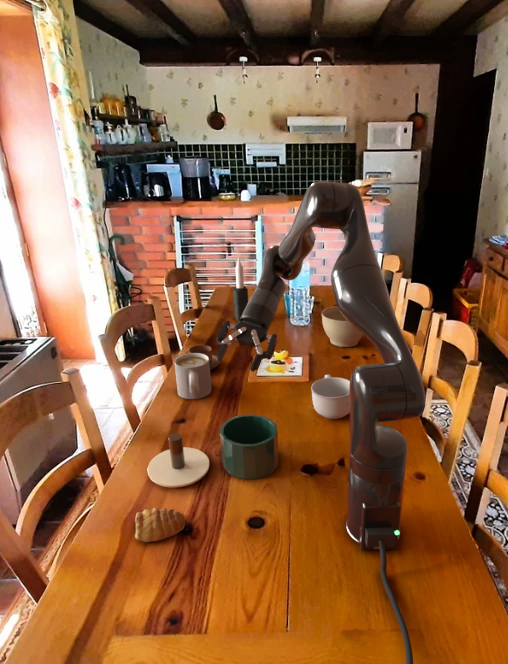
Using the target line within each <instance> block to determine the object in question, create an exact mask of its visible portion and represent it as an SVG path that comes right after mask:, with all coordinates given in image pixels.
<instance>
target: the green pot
mask: <svg viewBox="0 0 508 664" xmlns="http://www.w3.org/2000/svg"><path fill="white" fill-rule="evenodd" d="M219 440H220V453H221V454H220V456H221V464H222V467H223V468H224V471H225V472H226V473H227V474H229V475H230V476H232V477H235V478H237V479H242V480H257V479H262V478H265V477H267V476H269V475H271V474H272V473H274V471H275V470H276V469H277V467H278V465H279V431H278V425H277V424H276V422H274V421H273V419H272V418H269V417H267V416H265V415H260V414H254V413H252V414H239V415H236V416H233V417H230V418H228V419H226V420H225V421H224V422H223V423H222V425H221V426H220V428H219Z"/></svg>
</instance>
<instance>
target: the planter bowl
mask: <svg viewBox="0 0 508 664" xmlns="http://www.w3.org/2000/svg"><path fill="white" fill-rule="evenodd" d="M321 318H322V319H321V320H322V326H323V329H324V332H325V334H326V335H327V337H328V338H329V340H330V344H332V345H333V346H336V347H339V348H352V347H355V346H357V345H359V342H360V340H361V339H362V337H363V336H364V335H363V334H362V333H361V332H360V331H358V330H357V329H356V328H355V327H354V326H353V325H352V324H351V323H350V322H349V321H348V320H346V318H345V317H344V316H343V315H342V314H341V312H340V311H339V309H338V307H337V305H336V306H330V307H327V308H325V309H323V310H322V311H321Z"/></svg>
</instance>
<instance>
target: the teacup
mask: <svg viewBox="0 0 508 664" xmlns="http://www.w3.org/2000/svg"><path fill="white" fill-rule="evenodd" d="M310 389H311V397H312V398H311V399H312V405H313V409H314V411H316V413H317V414H319V415H320V416H322V417H324V418H325V419H329V420H337V419H338V420H339V419H342V418H344V417H346V416H347V415H348V414H350V394H349V389H350V379H348V378H347V379H346V378H344V377H336V376H335V377H334V376H333V377H332V374H325V375H324V377H323V378H320V379H317V380H315V381H314V382H313V383H312V384H311V387H310Z"/></svg>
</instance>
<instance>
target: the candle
mask: <svg viewBox="0 0 508 664" xmlns="http://www.w3.org/2000/svg"><path fill="white" fill-rule="evenodd" d="M240 260H241V259H240V258H237V263H236V266H235V283H236V285H235V286H234V287H233V288H232V296H233V311H234V312H233V313H234V319H235V320H236V321H237V322H239V320H240V318H241V316H242V314H243V312H244V310H245V308H246V306H247V304H248V302H249V290H248V288H247V286H246V285H245V284H244V283H245V280H244V266H243V265H242V263H241V261H240Z"/></svg>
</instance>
